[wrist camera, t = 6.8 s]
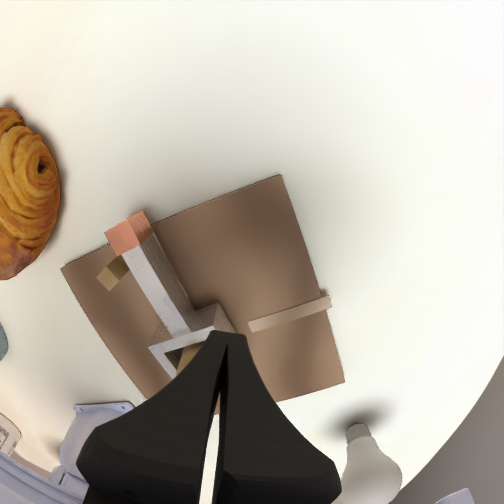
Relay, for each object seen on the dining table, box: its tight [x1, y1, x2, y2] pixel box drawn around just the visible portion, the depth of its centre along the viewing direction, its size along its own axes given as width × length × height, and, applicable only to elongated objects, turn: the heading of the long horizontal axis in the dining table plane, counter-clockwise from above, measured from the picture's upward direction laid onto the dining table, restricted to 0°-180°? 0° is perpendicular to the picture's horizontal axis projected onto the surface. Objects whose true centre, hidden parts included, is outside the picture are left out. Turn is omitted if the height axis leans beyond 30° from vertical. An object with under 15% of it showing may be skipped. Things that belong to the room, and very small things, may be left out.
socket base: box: [60, 175, 345, 415], centre depth 19 cm, size 18×18×5 cm
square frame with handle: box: [105, 210, 236, 379], centre depth 18 cm, size 13×5×3 cm, turn 24°
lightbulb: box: [340, 424, 402, 504], centre depth 21 cm, size 6×6×11 cm
